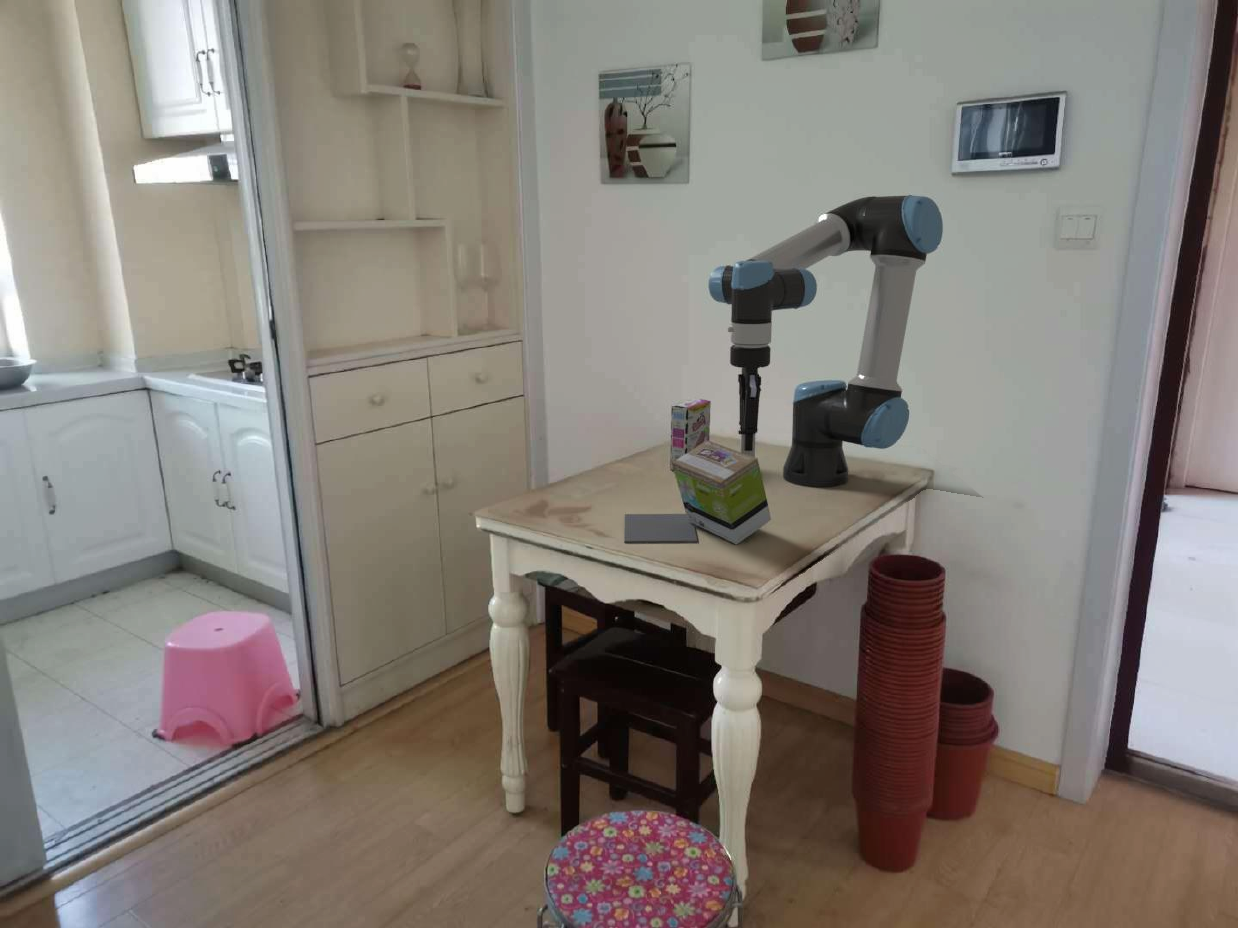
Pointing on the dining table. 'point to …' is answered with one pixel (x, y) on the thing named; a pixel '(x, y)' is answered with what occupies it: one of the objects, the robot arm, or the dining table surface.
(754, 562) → the dining table surface
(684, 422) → the candy bar box
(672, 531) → the mat
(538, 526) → the dining table surface
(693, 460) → the tea box
